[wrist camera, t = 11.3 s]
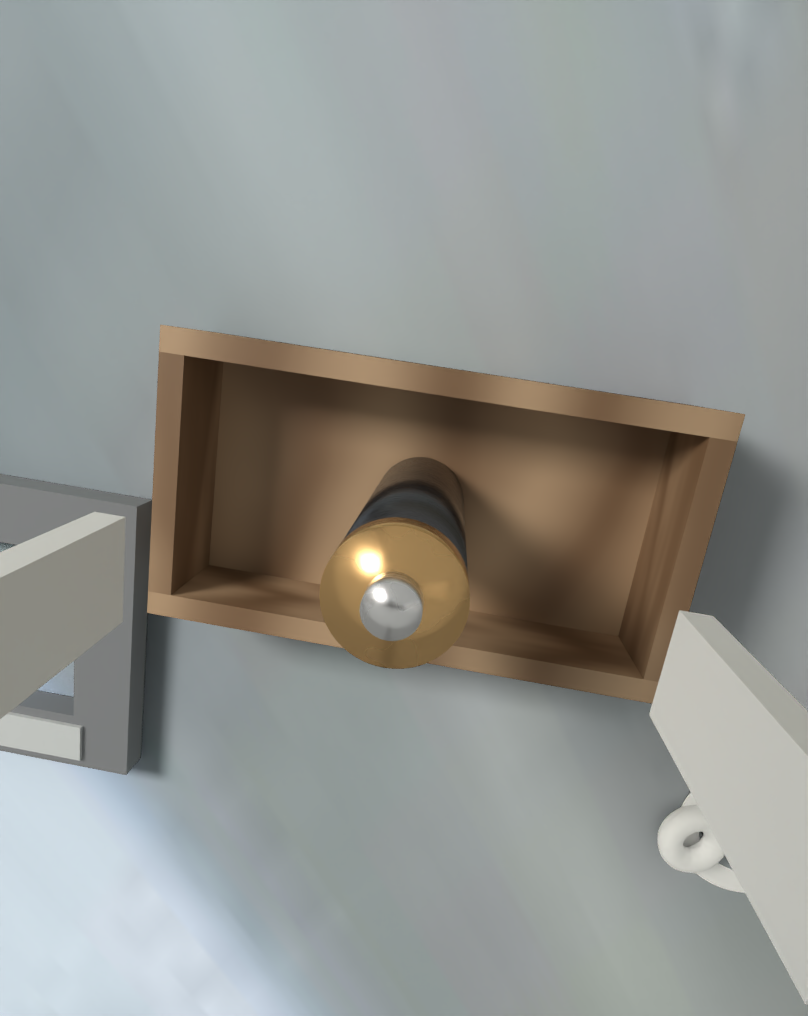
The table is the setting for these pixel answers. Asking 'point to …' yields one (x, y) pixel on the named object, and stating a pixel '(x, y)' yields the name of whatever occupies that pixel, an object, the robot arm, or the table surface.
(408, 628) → the battery cell
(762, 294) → the table surface
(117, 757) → the grey flat square frame
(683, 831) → the teacup and saucer
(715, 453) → the walnut trough
